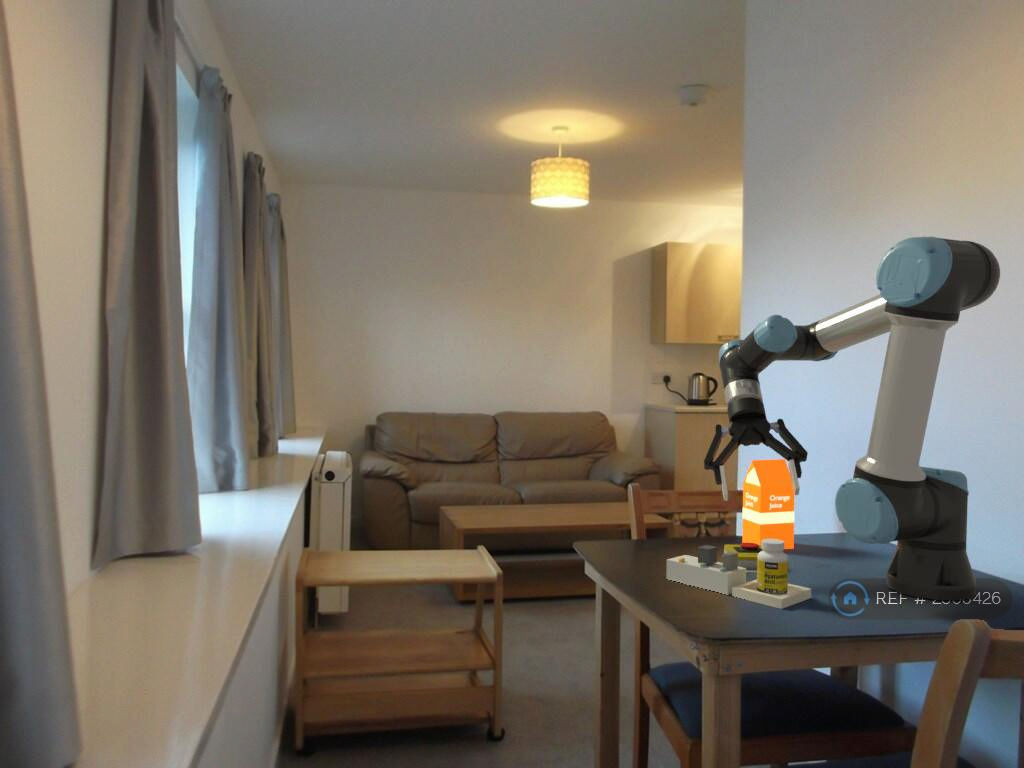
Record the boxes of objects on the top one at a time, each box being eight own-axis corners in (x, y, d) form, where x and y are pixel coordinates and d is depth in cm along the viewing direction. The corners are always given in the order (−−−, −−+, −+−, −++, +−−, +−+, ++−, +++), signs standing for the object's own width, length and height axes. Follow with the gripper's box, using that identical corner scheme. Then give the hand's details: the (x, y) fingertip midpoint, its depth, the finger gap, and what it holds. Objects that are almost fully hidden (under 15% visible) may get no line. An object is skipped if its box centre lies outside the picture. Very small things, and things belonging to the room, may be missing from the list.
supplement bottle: (761, 598, 151) (762, 544, 150) (752, 590, 156) (753, 537, 156) (792, 598, 151) (792, 544, 150) (782, 590, 156) (782, 537, 156)
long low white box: (745, 589, 159) (746, 552, 158) (727, 595, 155) (727, 557, 154) (685, 574, 169) (685, 539, 169) (666, 579, 165) (666, 544, 165)
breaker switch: (717, 562, 161) (717, 547, 161) (708, 565, 160) (708, 549, 159) (706, 560, 163) (706, 544, 163) (697, 562, 161) (698, 547, 161)
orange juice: (794, 548, 192) (795, 461, 191) (759, 551, 190) (760, 462, 189) (774, 541, 199) (776, 457, 199) (741, 543, 197) (742, 458, 196)
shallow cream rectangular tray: (811, 597, 153) (811, 588, 153) (781, 608, 146) (781, 599, 146) (762, 586, 160) (762, 577, 160) (732, 596, 154) (732, 587, 154)
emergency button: (763, 537, 185) (782, 554, 170) (763, 557, 185) (782, 575, 170) (721, 537, 186) (736, 553, 171) (721, 557, 186) (736, 575, 171)
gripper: (684, 401, 177) (696, 490, 165) (807, 389, 173) (829, 480, 161) (685, 420, 183) (697, 508, 171) (804, 409, 179) (825, 498, 167)
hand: (761, 494), depth 166 cm, fingers open, 13 cm apart
